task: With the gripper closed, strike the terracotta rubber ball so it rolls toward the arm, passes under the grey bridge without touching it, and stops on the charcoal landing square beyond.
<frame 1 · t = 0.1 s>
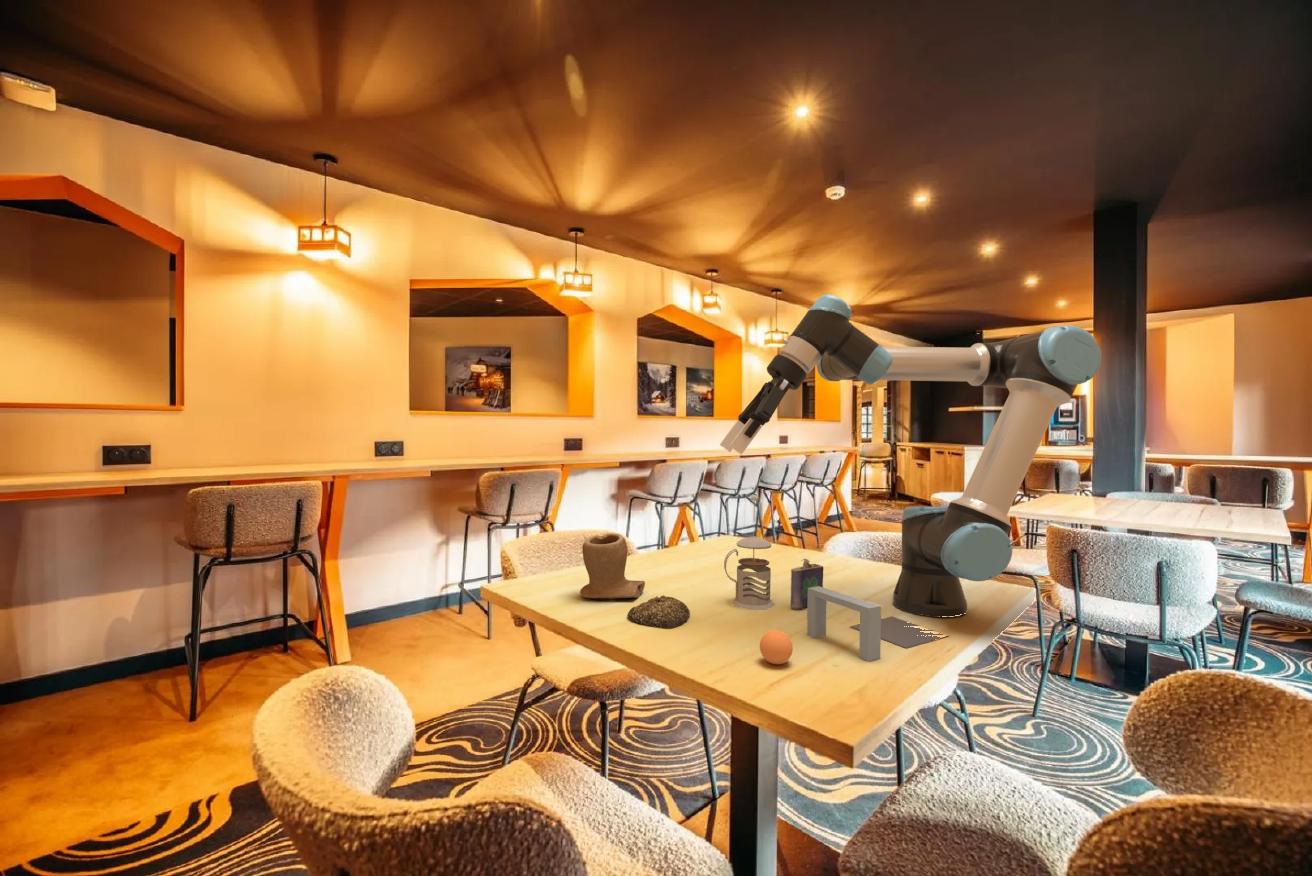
hand: (729, 449, 114), 36 cm above the table, tool tilted 35°, fingers open, 13 cm apart
french press: (749, 604, 131), on the table
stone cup: (611, 598, 134), on the table
ball: (776, 647, 97), on the table
flask: (806, 607, 129), on the table
bridge: (841, 646, 105), on the table
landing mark: (898, 631, 113), on the table
bread roll: (661, 620, 120), on the table
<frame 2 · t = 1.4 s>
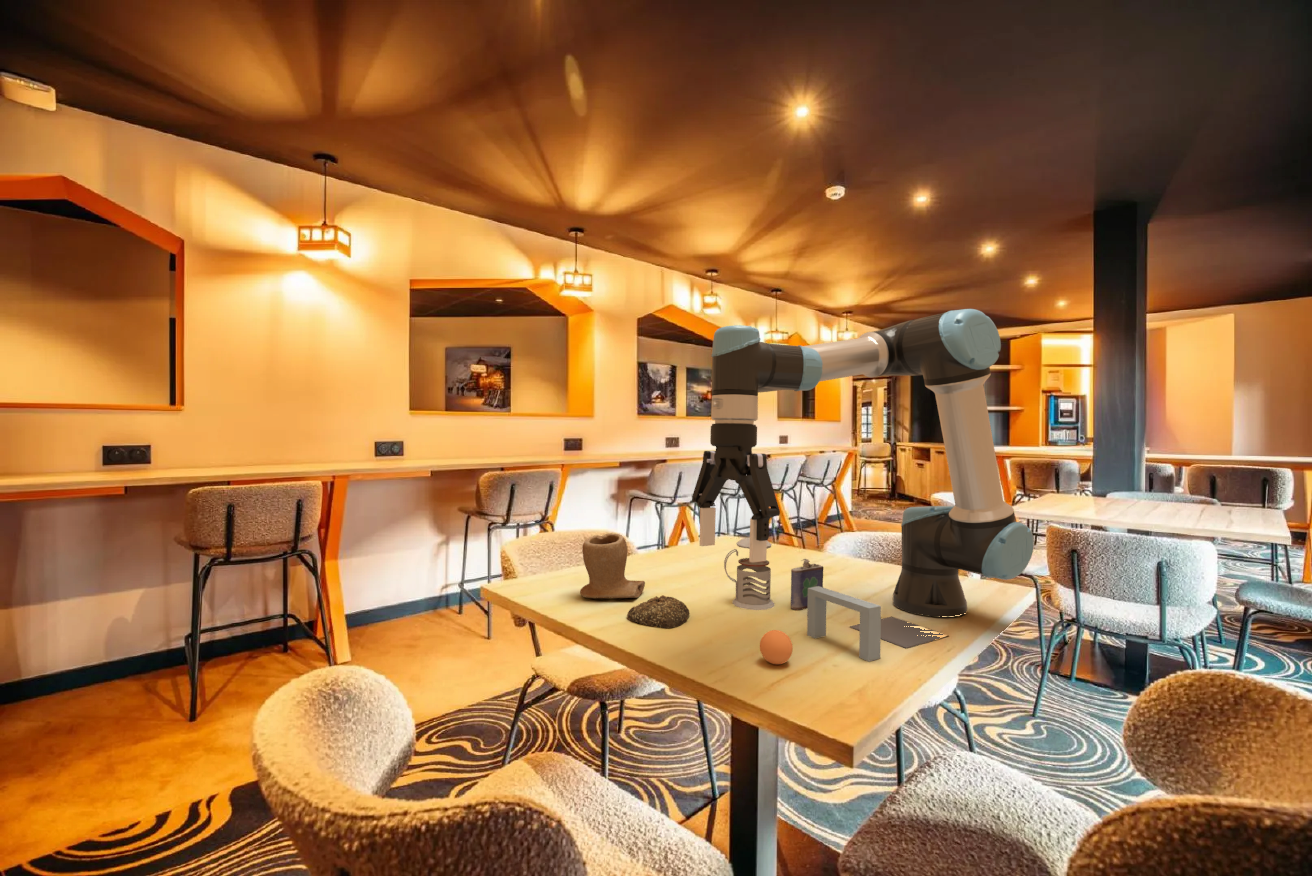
hand: (730, 553, 92), 20 cm above the table, tool pointing down, fingers open, 13 cm apart
nothing on the table moved.
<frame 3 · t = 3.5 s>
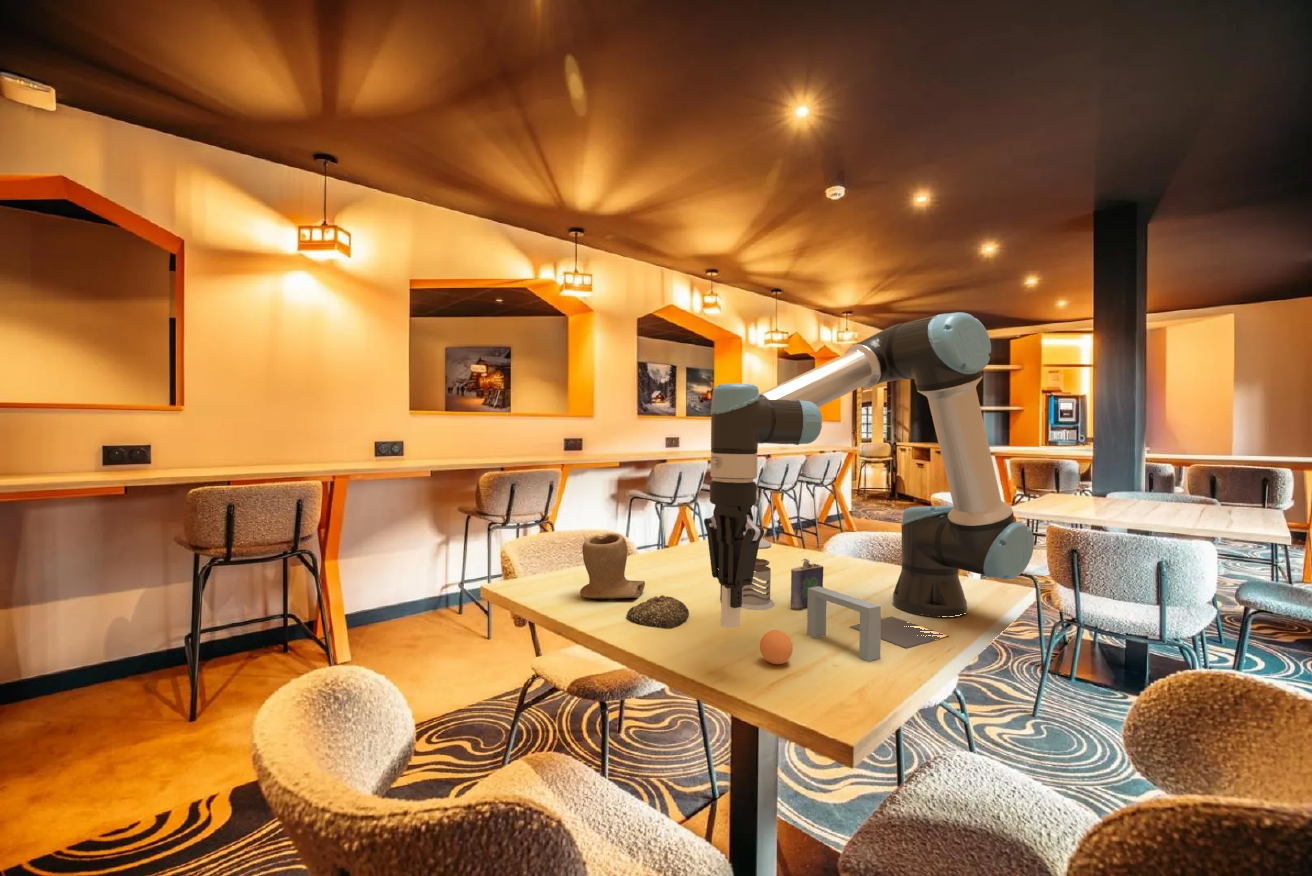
hand: (730, 625, 92), 8 cm above the table, tool pointing down, fingers closed
nothing on the table moved.
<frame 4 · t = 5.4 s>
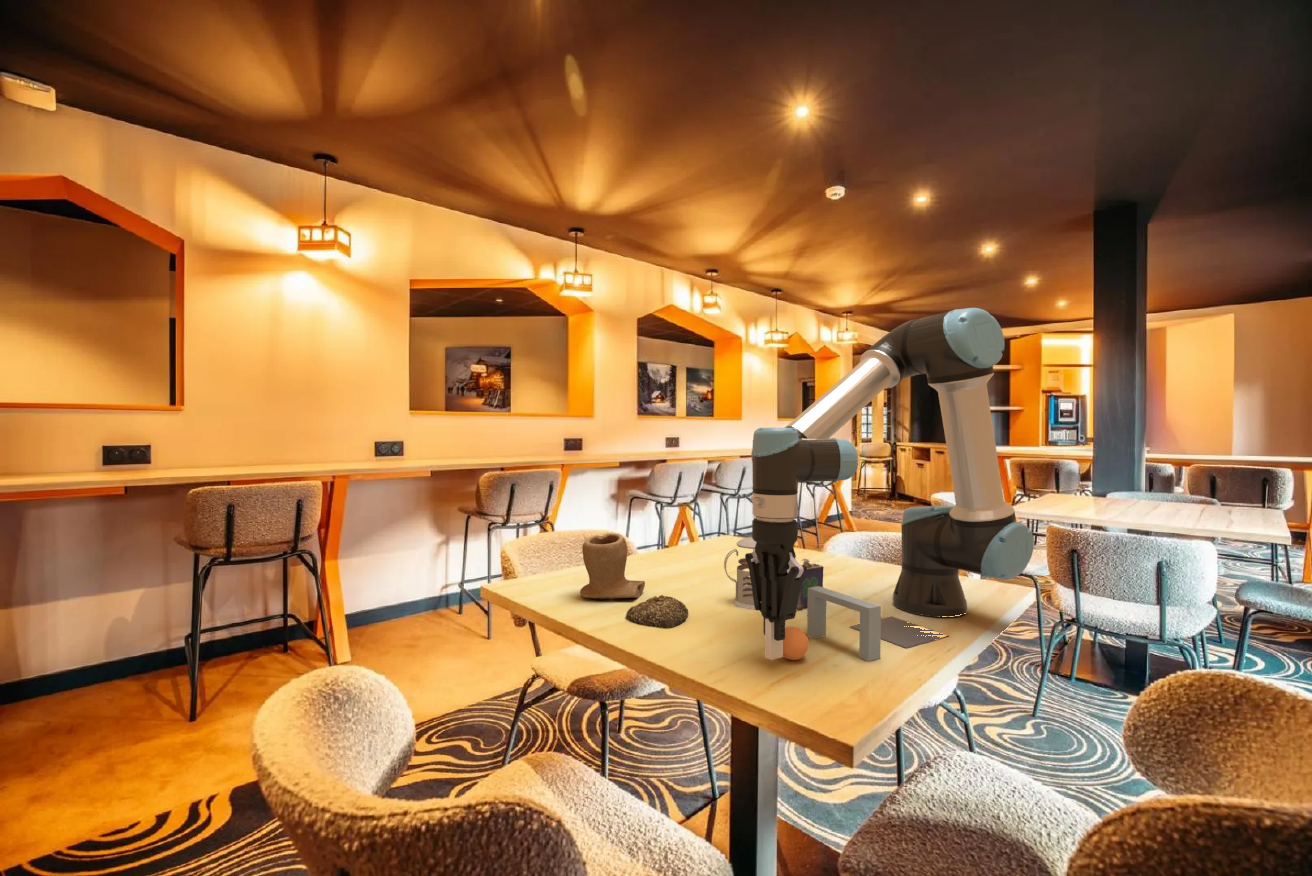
hand: (774, 656, 96), 1 cm above the table, tool pointing down, fingers closed
ball: (792, 643, 98), on the table
everything else where it was.
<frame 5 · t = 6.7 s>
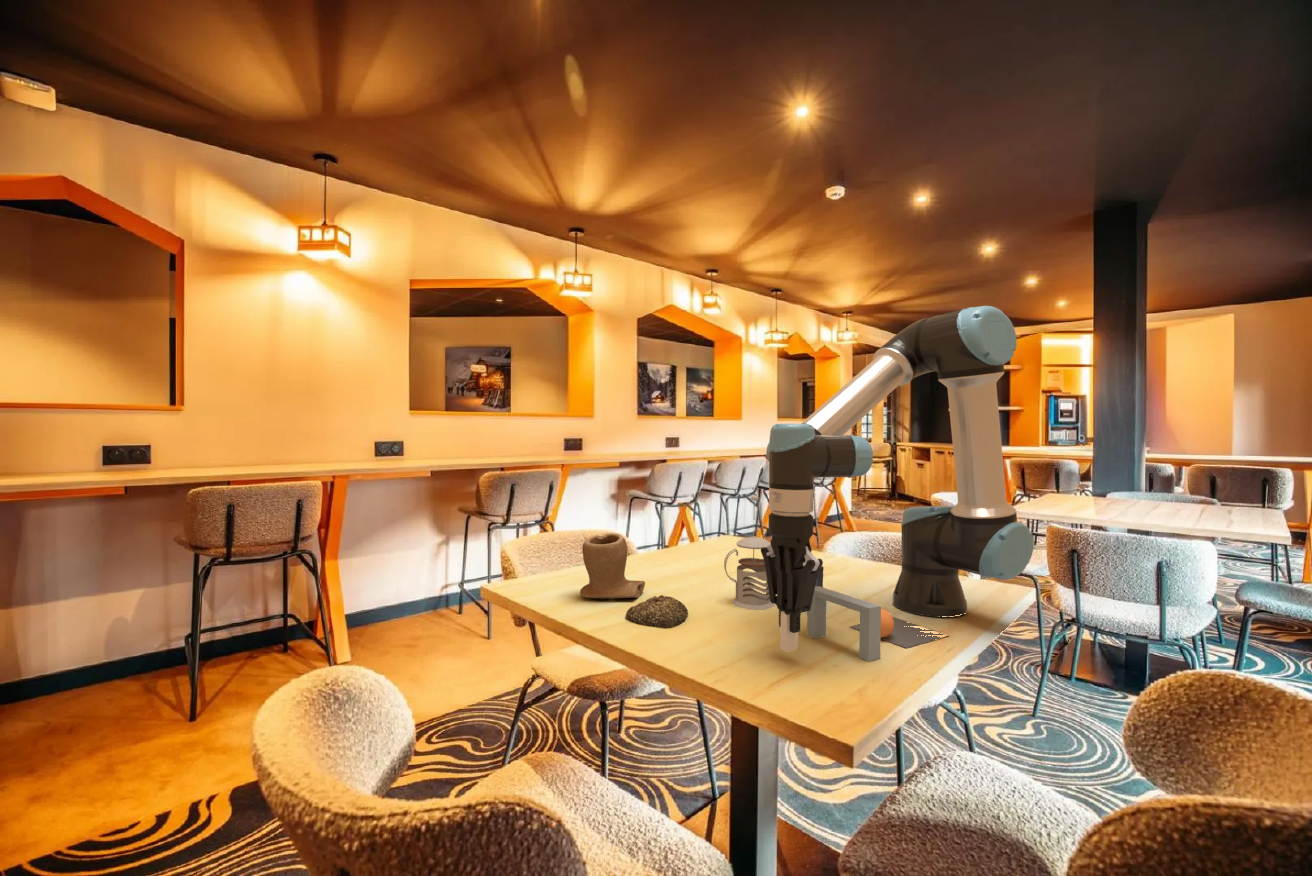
hand: (789, 648, 98), 2 cm above the table, tool pointing down, fingers closed
ball: (878, 622, 110), on the table
everything else where it was.
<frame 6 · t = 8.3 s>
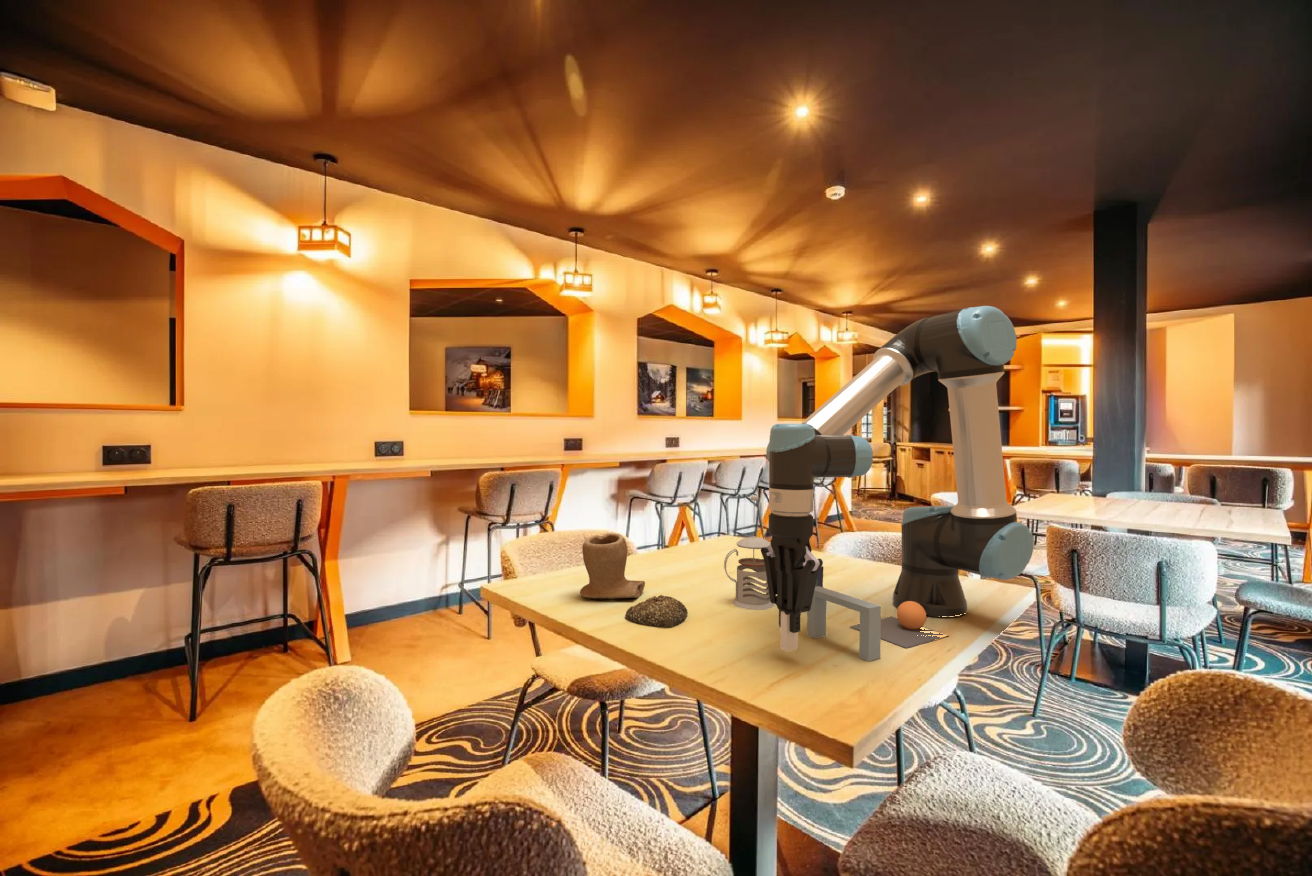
hand: (789, 648, 98), 2 cm above the table, tool pointing down, fingers closed
ball: (911, 615, 114), on the table
everything else where it was.
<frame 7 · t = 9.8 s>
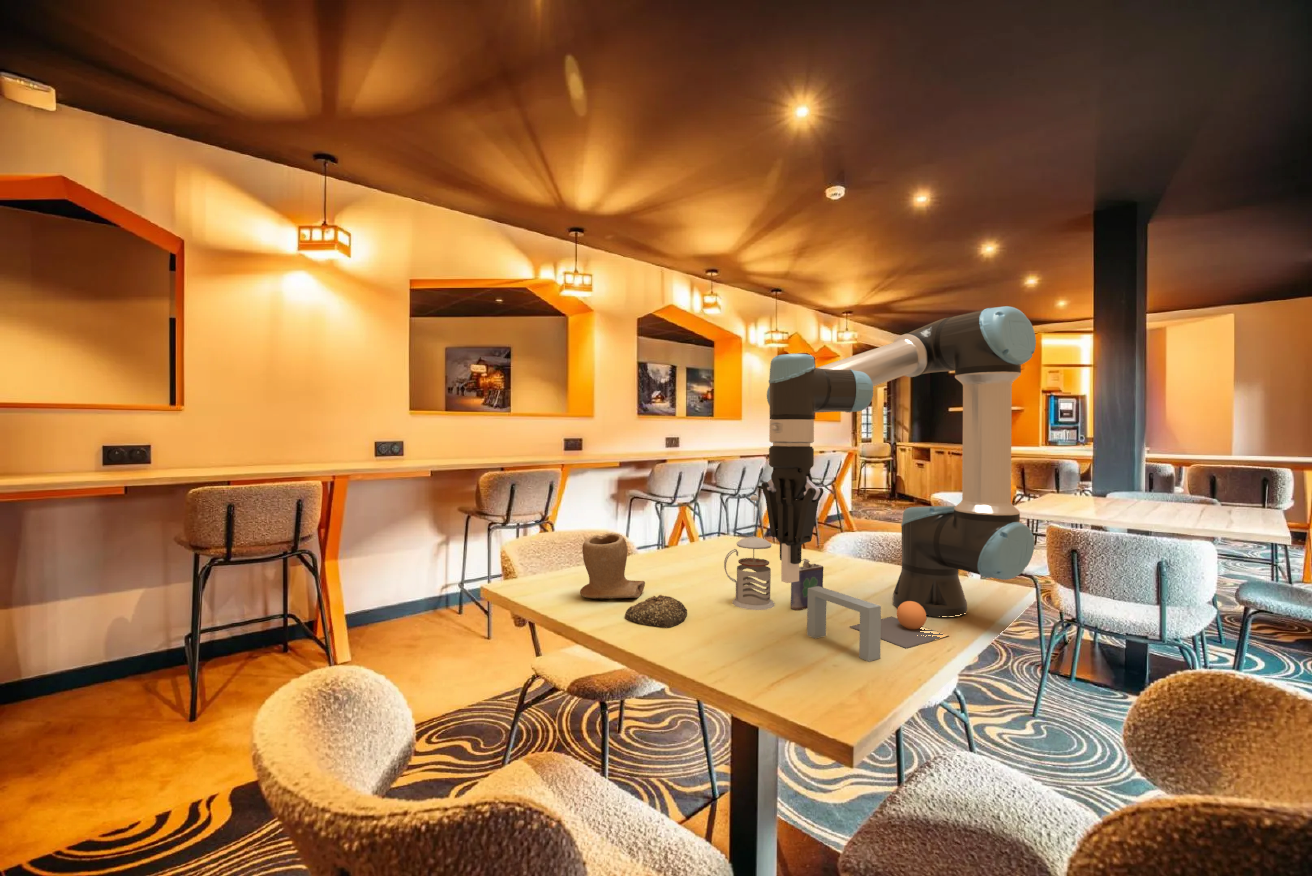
hand: (790, 581, 98), 14 cm above the table, tool pointing down, fingers closed
nothing on the table moved.
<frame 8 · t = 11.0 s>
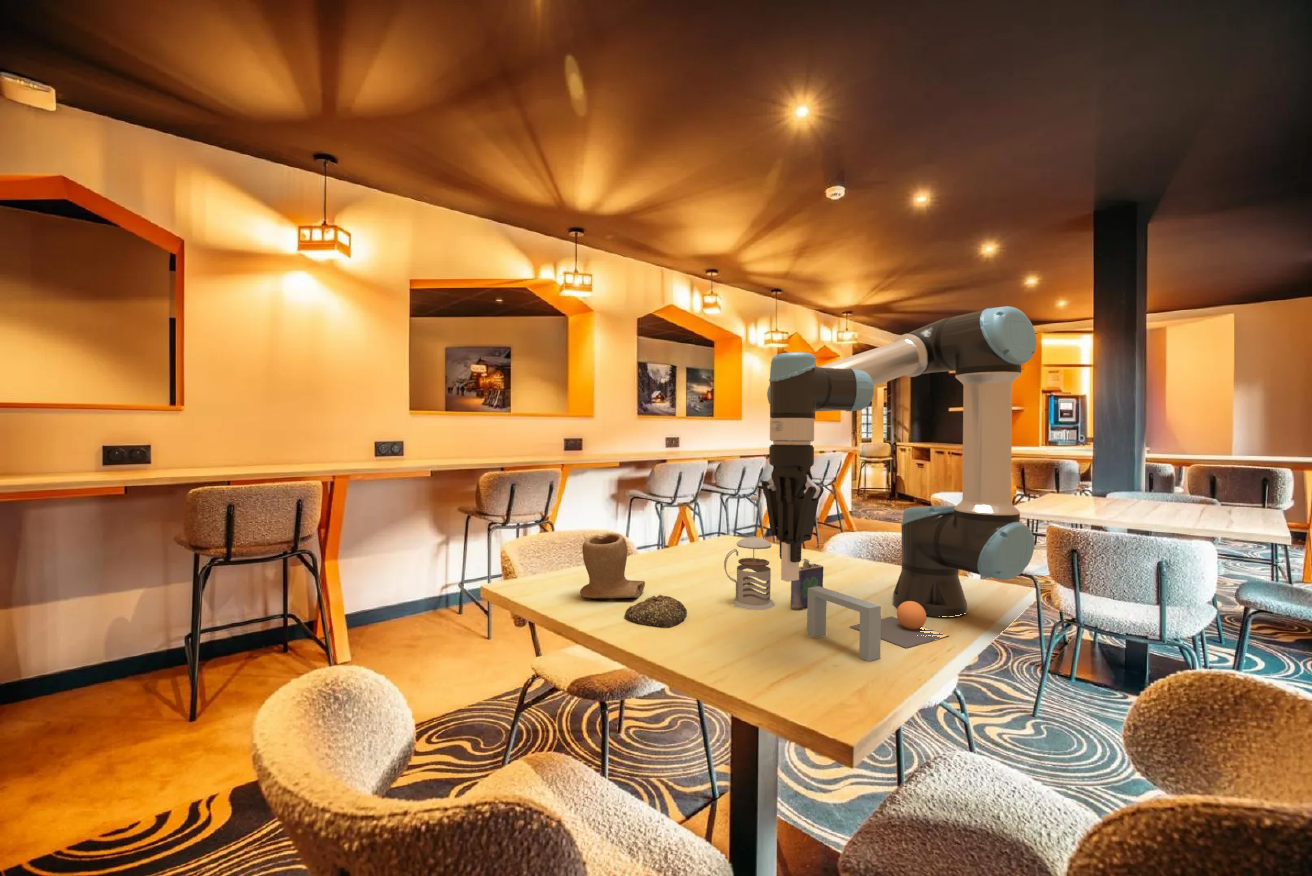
hand: (790, 579, 98), 14 cm above the table, tool pointing down, fingers closed
nothing on the table moved.
at the end: ball 3.8 cm from the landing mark (horizontally); ball never touched bridge; ball at rest at the end (0.0 cm/s) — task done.
